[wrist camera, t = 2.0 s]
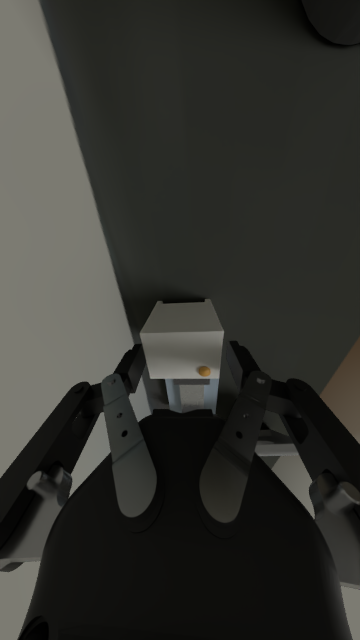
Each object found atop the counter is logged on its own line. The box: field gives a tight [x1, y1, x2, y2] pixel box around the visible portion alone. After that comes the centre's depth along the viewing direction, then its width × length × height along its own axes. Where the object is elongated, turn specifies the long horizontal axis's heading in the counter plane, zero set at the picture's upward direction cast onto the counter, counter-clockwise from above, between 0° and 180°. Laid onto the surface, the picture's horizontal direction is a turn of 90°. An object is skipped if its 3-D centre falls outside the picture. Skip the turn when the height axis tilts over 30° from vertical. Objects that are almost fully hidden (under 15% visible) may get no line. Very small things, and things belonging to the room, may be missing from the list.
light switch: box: [255, 429, 299, 456], centre depth 24 cm, size 8×6×14 cm
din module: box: [140, 299, 224, 379], centre depth 14 cm, size 5×6×7 cm
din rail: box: [173, 379, 210, 413], centre depth 20 cm, size 14×4×3 cm, turn 4°
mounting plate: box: [165, 379, 219, 414], centre depth 22 cm, size 14×8×2 cm, turn 4°
